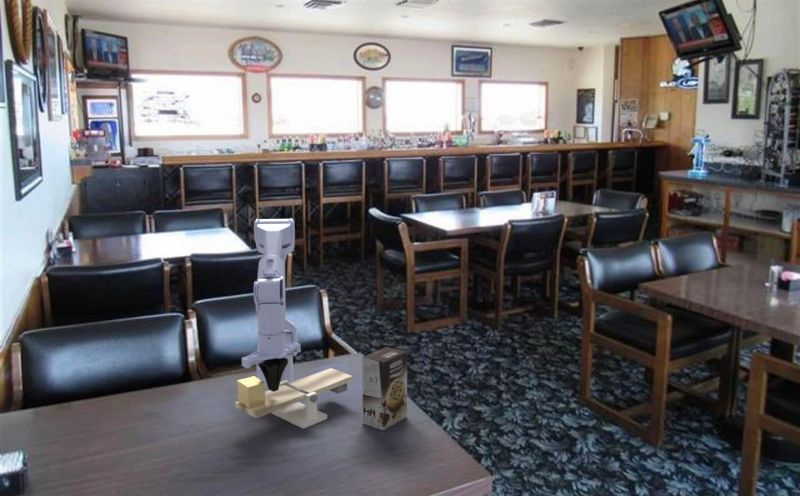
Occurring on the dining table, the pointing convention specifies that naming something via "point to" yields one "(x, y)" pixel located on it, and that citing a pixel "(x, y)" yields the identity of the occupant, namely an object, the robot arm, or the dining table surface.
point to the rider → (251, 392)
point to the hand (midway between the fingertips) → (273, 389)
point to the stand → (302, 411)
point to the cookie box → (384, 388)
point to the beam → (299, 391)
